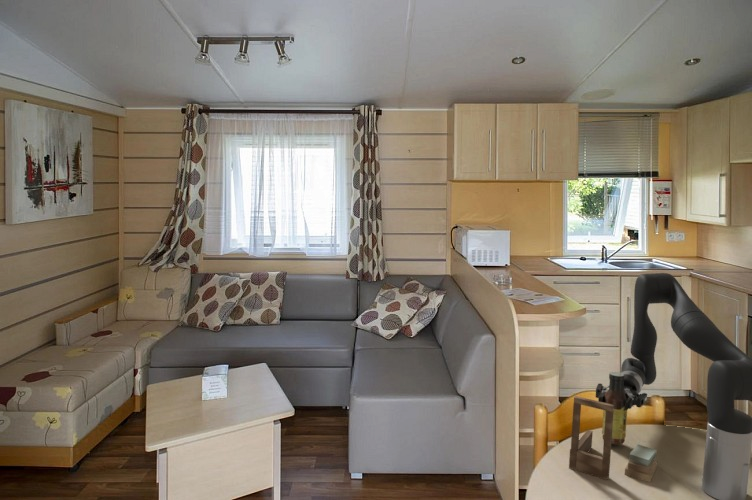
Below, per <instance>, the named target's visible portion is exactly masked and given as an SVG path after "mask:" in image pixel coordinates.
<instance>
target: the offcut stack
mask: <svg viewBox="0 0 752 500" xmlns="http://www.w3.org/2000/svg"><path fill="white" fill-rule="evenodd" d="M628 457H629V458H628V462H627V464H626V466H625V468H624V475H625V476H628V477H632V478H635V479H639V480H642V481H646V482H648V483H650V482H651V480H652V478H653V476H654V474H655V472H656V469H657V465H658V461H656V460H655V459H656V457H657V449H655V448H651V447H648V446H645V445H641V444H636V446H635V447H634V448H633V449H632V450H630V453H629V455H628Z"/></svg>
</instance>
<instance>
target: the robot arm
mask: <svg viewBox="0 0 752 500" xmlns="http://www.w3.org/2000/svg"><path fill="white" fill-rule="evenodd" d="M633 292H634V295H633V296H634V300H633V302H634V303H633V308H634V309H633V315H634V316H633V319H634V320H633V322H634V326H633V335H632V339H631V344H630V355H632V357H627V358H625V359H623V361H622V364H621V367H620V373H622V374H624V375H625V380H624V386H623V388H624V392H625V396H626V399H627V400H626V402H625V409H626V410H627V411H628V410H631V409H632V407H634V406H636V408H642V407H643V406H644V405H645V404H647V401H648V393H646V392H643V393H641V391H642V388H643V386H644V385H646V386H647V385H651V384H654V383H655V380H656V379H657V367H656V360H655V353H656V347H657V342H658V334H657V329H656V327H655V325H653V322H652V321H651V318H650V317H649V314H648V308H649V305H653V304H668V305H669V306H670V307H672V309H673V311H672V314H671V316H670V317H671V318H670V326H671V329H672V331H673V333H674V334H675V336H677V338H678V339H679V340H680V341H681V342H682V344H683V345H685V346H686V347H687V348H688V349H689V350H691V351H693V352H695V353H696V354H699V356H700V355H701V356H703V357H704V358H706V359H708V360H710V361H712V363H711V364H710V366H709V367H708V372H707V379H706V382H707V383H706V387H707V388H706V412H707V425H706V434H705V435H706V437H705V446H704V447H705V448H704V458H703V459H704V460H703V468H702V469H703V470H702V471H703V472H702V477H701V478H702V479H701V489H702V491H703V492H704V493H706V494H707V495H709V496H710V497H711V498H714V499H716V500H747V495H748V485H749V484H748V483H749V475H750V464H751V453H752V416H750V415H749V414H748V413H745V412H744V411H741V410H739V409H736V408H735V401H752V358H751V357H750V356H749V355H747V354H746V353H745V352H744V351H742V349H740V348H739V347H738V346H736V345H735V343H733V342H732V341H731V340H730V339H729V338H728V336H726V335H725V334H724V333H723V332H722V331H721V330H720V329H719V327H717V325H715V323H714V322H713V321H712V320H711V319H710V318H709V317H708V316H707V315H706V313H704V312H703V311H702V310H701V308H699V307H698V306H697V304H695V302H694V301H693V299H691V298H690V296H689V295H688V294H687V292H686V291H685V289H684V288H683V287H682V285H681V284H680V282H679V281H678V280H677V279H676V277H674V275H672V274H670V273H667V272H659V273H658V272H655V273H642V274H640V275H638V276H637V278H636V280H635V283H634V291H633ZM608 390H609V385H607V386H604V385H603V383H597V385H596V388H595V398H597V399H598V400H597V401H599V402H603V403H604V396H605V394H606V392H607V391H608Z"/></svg>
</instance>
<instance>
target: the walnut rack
mask: <svg viewBox="0 0 752 500" xmlns="http://www.w3.org/2000/svg"><path fill="white" fill-rule="evenodd" d="M572 406H573V407H572V425H571V437H570V438H571V441H570V449H569V461H568V468H569V469H571V470H573V471H574V470H575V471H578V472H582V473H585V474H588V475H590V476H591V475H592V476H595V477H597V478H601V479H603V480H606V481H608V480H609V478H610V470H611V469H610V467H611V452H612V444H611V441H612V427H613V412H614V405H612V404H608V403H603V402H599V401H598V400H594V399H591V398H590V399H589V398H586V397H582V396H578V395H574V397H573V405H572ZM582 406H585V407H589V408H594V409H596V410H597V409H598V410H601V411H603V410H605V411H606V416H605V431H604V440H603V447H602V456H600V455H596V454H593V453H589V452H590V451H591V449H592V448H591V447H593V430H590V429H587V430H586V431H585V432H584V433H583V434H582V436H581V437H580V427H581V426H580V425H581V413H582V410H581V409H582ZM589 450H590V451H589ZM588 451H589V452H588Z"/></svg>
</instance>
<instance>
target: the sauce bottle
mask: <svg viewBox="0 0 752 500" xmlns="http://www.w3.org/2000/svg"><path fill="white" fill-rule="evenodd" d="M608 379H609V385H608V386H609V390H608V391H607V392H606V394H605V396H604V403H608V404H612V405H614V412H613V427H612V441H611V445H622V444H624V443H625V440H626V434H627V418H628V410H626V409H625V402H626V400H627V399H626V396H625V392H624V388H623V386H624V380H625V375H624V374H622V373H621V372H619V371H611V372H609V374H608ZM605 416H606V411H605V410H602V431H601V434H602V439H603V441H604V431H605Z"/></svg>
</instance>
